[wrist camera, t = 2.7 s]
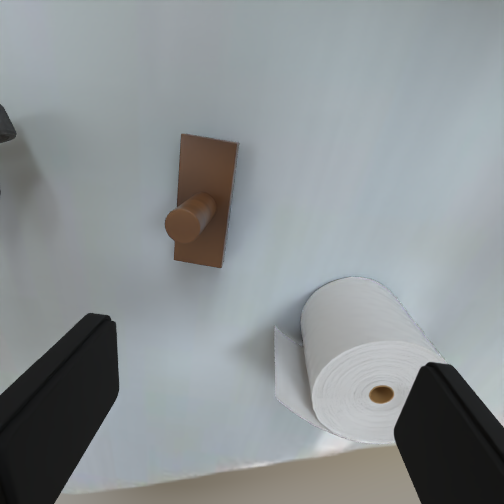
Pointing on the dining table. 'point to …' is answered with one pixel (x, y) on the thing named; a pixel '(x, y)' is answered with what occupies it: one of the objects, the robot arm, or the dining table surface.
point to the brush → (203, 200)
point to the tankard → (6, 127)
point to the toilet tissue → (352, 360)
